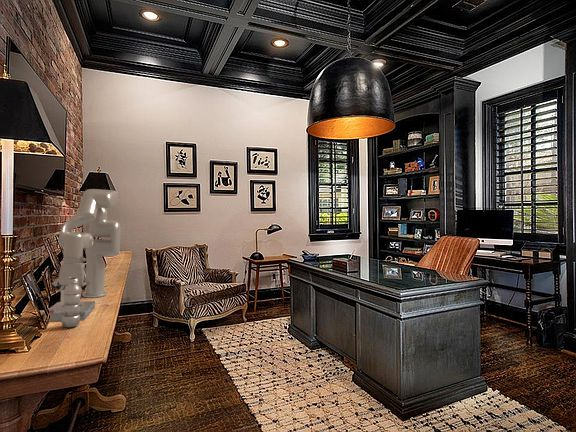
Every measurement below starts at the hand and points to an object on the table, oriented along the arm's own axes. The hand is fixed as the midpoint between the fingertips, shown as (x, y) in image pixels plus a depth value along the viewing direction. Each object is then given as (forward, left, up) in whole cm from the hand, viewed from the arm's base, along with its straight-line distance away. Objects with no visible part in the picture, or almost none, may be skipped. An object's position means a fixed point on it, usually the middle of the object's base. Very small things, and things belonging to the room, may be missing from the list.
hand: (71, 299), depth 164 cm
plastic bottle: (+19, +5, -7) cm, 21 cm away
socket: (0, 0, -7) cm, 7 cm away
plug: (-1, 0, -3) cm, 3 cm away
